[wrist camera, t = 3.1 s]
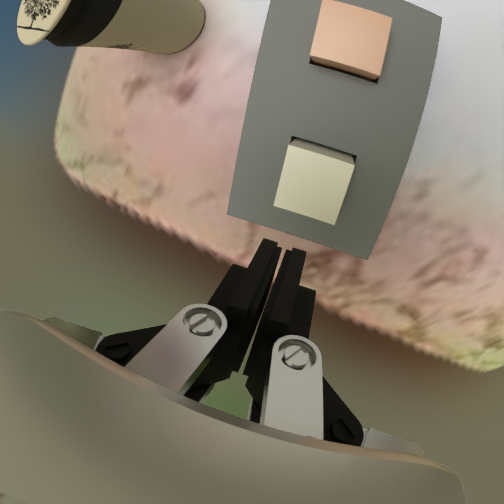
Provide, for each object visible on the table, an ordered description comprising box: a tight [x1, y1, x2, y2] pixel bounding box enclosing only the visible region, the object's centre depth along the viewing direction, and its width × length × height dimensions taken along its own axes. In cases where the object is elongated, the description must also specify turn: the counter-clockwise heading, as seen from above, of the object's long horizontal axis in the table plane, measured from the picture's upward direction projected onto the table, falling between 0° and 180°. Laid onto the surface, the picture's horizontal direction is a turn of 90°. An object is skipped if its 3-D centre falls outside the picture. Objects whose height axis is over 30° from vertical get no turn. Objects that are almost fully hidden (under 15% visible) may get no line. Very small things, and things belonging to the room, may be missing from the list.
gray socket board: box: [227, 0, 442, 260], centre depth 22 cm, size 14×24×5 cm, turn 169°
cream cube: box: [273, 137, 355, 225], centre depth 23 cm, size 5×5×5 cm
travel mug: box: [17, 0, 205, 54], centre depth 15 cm, size 8×8×18 cm
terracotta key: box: [310, 0, 392, 82], centre depth 16 cm, size 5×5×5 cm
